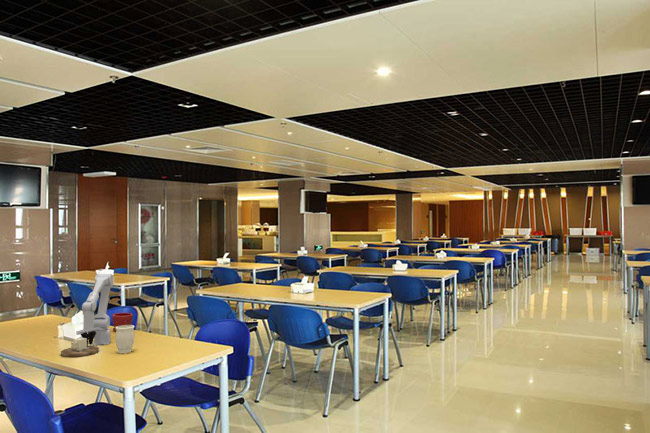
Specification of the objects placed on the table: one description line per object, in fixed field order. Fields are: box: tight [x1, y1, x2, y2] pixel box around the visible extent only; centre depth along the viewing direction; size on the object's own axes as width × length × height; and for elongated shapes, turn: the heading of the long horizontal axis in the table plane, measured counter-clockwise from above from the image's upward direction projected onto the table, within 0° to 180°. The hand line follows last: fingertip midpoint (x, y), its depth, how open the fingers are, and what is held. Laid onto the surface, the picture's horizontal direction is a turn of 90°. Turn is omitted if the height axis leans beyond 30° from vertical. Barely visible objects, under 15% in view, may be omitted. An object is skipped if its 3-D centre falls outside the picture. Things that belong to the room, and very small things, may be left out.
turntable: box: [60, 344, 100, 358], centre depth 286 cm, size 20×20×4 cm
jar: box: [114, 324, 135, 354], centre depth 289 cm, size 11×10×15 cm
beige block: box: [70, 337, 87, 350], centre depth 285 cm, size 8×5×6 cm, turn 154°
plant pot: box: [112, 312, 133, 332], centre depth 348 cm, size 13×13×12 cm
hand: (88, 344), depth 294 cm, fingers open, 2 cm apart
